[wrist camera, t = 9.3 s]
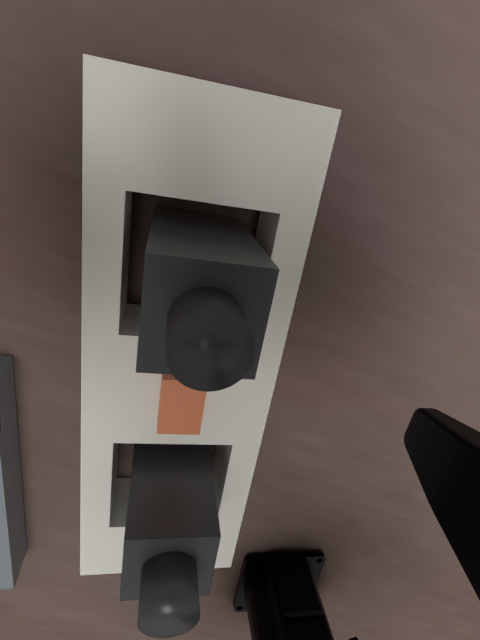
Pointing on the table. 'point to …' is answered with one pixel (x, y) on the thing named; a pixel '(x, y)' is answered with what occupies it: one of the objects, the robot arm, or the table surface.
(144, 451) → the twin plug
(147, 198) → the table surface
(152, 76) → the power strip
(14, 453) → the tray
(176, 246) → the plug
